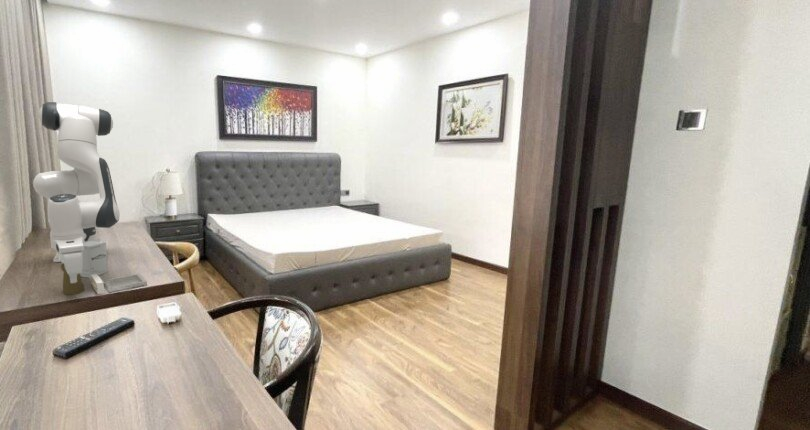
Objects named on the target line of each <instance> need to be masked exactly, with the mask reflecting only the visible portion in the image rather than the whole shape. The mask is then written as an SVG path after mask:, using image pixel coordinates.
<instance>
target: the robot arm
mask: <svg viewBox="0 0 810 430" xmlns="http://www.w3.org/2000/svg"><path fill="white" fill-rule="evenodd" d="M38 111H39V112H38V119H39V121H40V122H41V125H42V126H43V127H44V128H46V129H48V130H50V131H54V132H55V131H58V135H57V157H58V159H59V160H60V161H61V162H62V163H64V164H66V165H67V166H69V167H71V168H73V169H72V170H51V171H45V172H40V173H37V174H36V175H35V177H34V179H33V180H32V186H33V189H34V190H35V192H36V193H37V194H38V195H40V196H41V197H44V198H45V199H47V200H48V201H47V220H48V221H47V222H48V224H49V227H50V232H49V237H50V246H51V249H52V250H55V251H56V254H55V256H54V258H53V259H52V261H53V263H61V264H62V263H64V267H65V270H66V272H67V273H68V275H69V277H70V283H76V282H77V274H79V273H81V272H82V250H84V245H85V242H90V241H96V242H102V238H101V237H99V236H98V235H97V232H96V231H97V228H105V229H106V228H107V229H110V228H111V227H113V226H115V224H118V222H119V220H120V210H119V206H118V203H117V199H116V196H115V195H116V194H115V190H114V184H113V181H112V176H111V172H110V168H109V165H108V163H107V161H106V159H105V158H102V157H101V156H100V154H99V152H98V149H97V147H98V146H97V143H98V142H97V141H98V140H97V139H98V138H97V137H98V136H99V137H101V136H102V137H103V136H107V135H109V134H110V133H111V131H112V130H113V128H114V120H113V118H112V116H111V115H112V114H110V111H108V110H105V109H103V108H102V109H101V108H99V109H98V108H94V107H91V106H85V105H81V104H71V103H58V102H55V101H48V102H47V101H46V102H44V103H42V106H41V107H40V108H39V110H38ZM91 195H99V199H98V200H79V199H78V196H79V197H80V196H91Z"/></svg>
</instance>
